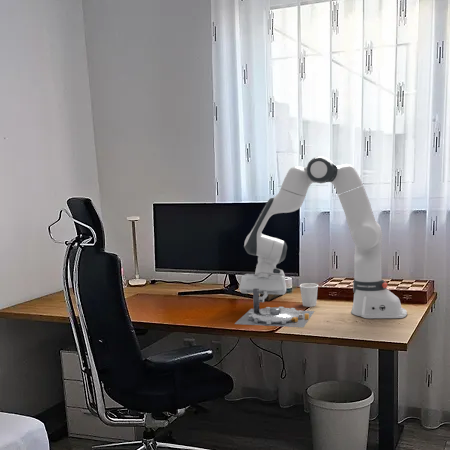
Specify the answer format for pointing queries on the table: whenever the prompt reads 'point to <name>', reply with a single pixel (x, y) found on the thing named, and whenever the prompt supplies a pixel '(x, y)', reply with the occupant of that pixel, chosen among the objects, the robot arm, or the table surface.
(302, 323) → the base plate
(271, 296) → the brown wooden log
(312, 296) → the dixie cup
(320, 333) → the table surface
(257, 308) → the sprocket
